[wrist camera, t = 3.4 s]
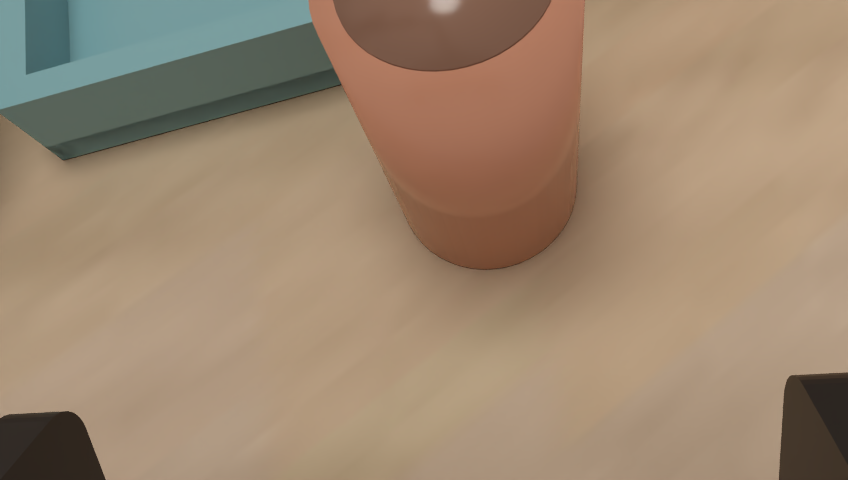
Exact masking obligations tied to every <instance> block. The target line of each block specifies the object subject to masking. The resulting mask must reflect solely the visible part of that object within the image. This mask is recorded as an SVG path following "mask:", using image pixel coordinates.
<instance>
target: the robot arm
mask: <svg viewBox="0 0 848 480" xmlns="http://www.w3.org/2000/svg"><path fill="white" fill-rule="evenodd" d="M0 480H106V479H105V477H104V474H103V472H102V469H101V466H100V464H99V461H98V459H97V456H96V453H95V451H94V448H93V445H92V443H91V440H90V438H89V435H88V432H87V430H86V427H85V425H84V423H83V422H82V420H81V419H80V418H79V417H78V416H77V415H76V414H74V413H73V412H69V411H65V412H46V413H27V414H9V415H6V416H3V417H2V418H0ZM779 480H848V373H829V374H810V375H791V376H790V377H789V378H788V379H787V382H786V385H785V390H784V403H783V419H782V436H781V453H780V469H779Z"/></svg>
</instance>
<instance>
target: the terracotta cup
mask: <svg viewBox="0 0 848 480" xmlns="http://www.w3.org/2000/svg"><path fill="white" fill-rule="evenodd" d="M308 1H309V10H310V14H311V18H312V22H313V25H314V27H315V29H316V32H317V34H318V36H319V38H320V41H321V43H322V45H323V47H324V49H325V51H326V53H327V55H328V57H329V59H330V61H331V63H332V65H333V67H334V70H335V72H336V74H337V76H338V78H339V80H340V82H341V84H342V86H343V88H344V90H345V92H346V94H347V97H348V99H349V101H350V103H351V105H352V107H353V109H354V111H355V113H356V115H357V117H358V119H359V121H360V123H361V126H362V128H363V130H364V132H365V134H366V136H367V138H368V140H369V142H370V144H371V146H372V148H373V150H374V153H375V155H376V157H377V159H378V161H379V163H380V165H381V167H382V169H383V171H384V173H385V175H386V177H387V179H388V182H389V184H390V186H391V188H392V190H393V192H394V194H395V196H396V198H397V200H398V202H399V204H400V206H401V208H402V211H403V213H404V215H405V217H406V219H407V221H408V223H409V225H410V227H411V229H412V230H413V232H414V233H415V235H416V236H417V238H418V239H419V240H420V241H421V242H422V244H424V245H425V246H426V247H427V248H428V249H429V250H430V251H431V252H433V253H434V254H436V255H437V256H439V257H440V258H442V259H444V260H446V261H448V262H451V263H454V264H457V265H459V266H463V267H468V268H474V269H497V268H503V267H508V266H511V265H515V264H518V263H521V262H523V261H525V260H527V259H530V258H531V257H533V256H535V255H536V254H538V253H540V252H541V251H542V250H544V249H545V248H546V247H547V246H549V245H550V244H551V243H552V242H553V241H554V240H555V239H556V237H557V236H558V235H559V234H560V232H561V231H562V230H563V228H564V227H565V225H566V223H567V221H568V219H569V218H570V215H571V212H572V210H573V207H574V203H575V198H576V187H577V166H578V143H579V120H580V98H581V75H582V52H583V29H584V7H585V0H308Z"/></svg>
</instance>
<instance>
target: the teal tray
mask: <svg viewBox="0 0 848 480" xmlns="http://www.w3.org/2000/svg"><path fill="white" fill-rule="evenodd" d="M337 85H341V82H340V80H339V78H338V76H337V74H336V72H335V70H334V67H333V65H332V63H331V61H330V59H329V57H328V55H327V53H326V51H325V49H324V47H323V45H322V43H321V41H320V38H319V36H318V34H317V32H316V29H315V27H314V25H313V22H312V18H311V14H310V10H309V1H308V0H0V114H1V115H3V116H4V117H5V118H7V119H8V120H10V121H11V122H12V123H14V124H15V125H16V126H18V127H19V128H20V129H22V130H23V131H24V132H26V133H27V134H28V135H30V136H31V137H33V138H34V139H35V140H37V141H38V142H39V143H41V144H42V145H43V146H45V147H46V148H47V149H49V150H50V151H51V152H53V153H54V154H56V155H57V156H58V157H60V158H61V159H62V160H66V159H69V158H73V157H77V156H80V155H84V154H88V153H91V152H95V151H99V150H102V149H106V148H110V147H113V146H117V145H121V144H124V143H128V142H132V141H135V140H139V139H143V138H146V137H150V136H154V135H157V134H161V133H165V132H168V131H172V130H176V129H179V128H183V127H187V126H190V125H194V124H198V123H201V122H205V121H209V120H212V119H216V118H220V117H223V116H227V115H231V114H234V113H238V112H242V111H245V110H249V109H253V108H256V107H260V106H264V105H267V104H271V103H275V102H278V101H282V100H286V99H289V98H293V97H297V96H300V95H304V94H308V93H311V92H315V91H319V90H322V89H326V88H330V87H333V86H337Z"/></svg>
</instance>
